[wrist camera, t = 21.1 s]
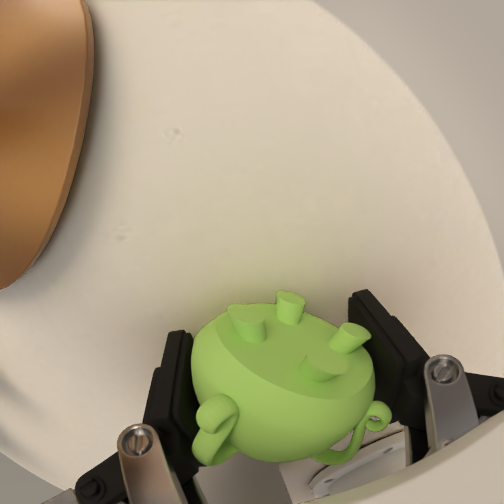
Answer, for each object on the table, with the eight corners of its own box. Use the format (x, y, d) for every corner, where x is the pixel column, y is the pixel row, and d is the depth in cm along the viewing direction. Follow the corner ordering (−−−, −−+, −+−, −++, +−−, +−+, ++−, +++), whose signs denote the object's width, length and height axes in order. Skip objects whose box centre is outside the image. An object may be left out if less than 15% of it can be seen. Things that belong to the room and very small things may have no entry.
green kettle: (178, 365, 11) (164, 484, 6) (202, 254, 9) (182, 385, 4) (308, 383, 12) (342, 483, 7) (359, 289, 10) (439, 391, 5)
